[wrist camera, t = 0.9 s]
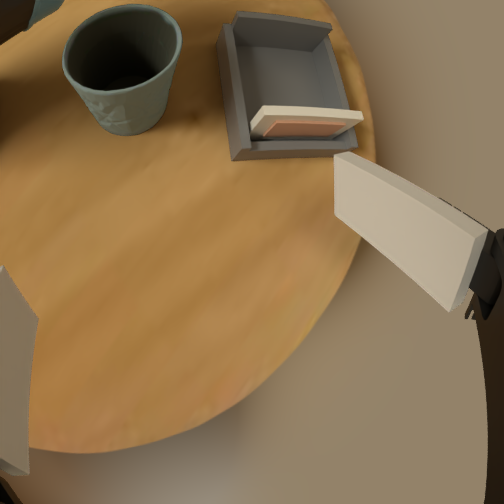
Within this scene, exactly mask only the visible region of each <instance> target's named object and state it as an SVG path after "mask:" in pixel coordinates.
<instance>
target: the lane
mask: <svg viewBox="0 0 504 504" xmlns="http://www.w3.org/2000/svg"><path fill="white" fill-rule="evenodd" d="M331 30H332V26H331V24H330V23H325V22H320V21H315V20H309V19H303V18H297V17H291V16H284V15H276V14H267V13H257V12H245V11H237V12H236V15H235V17H234V19H233V22H232V24H225V23H223V26H222V29H221V31H220V34H219V37H218V40H217V42H216V49H217V57H218V64H219V72H220V80H221V87H222V95H223V102H224V110H225V117H226V124H227V132H228V139H229V147H230V154H231V161H241V160H258V159H278V158H308V157H334V154H339V153H343V152H348V151H352V150H354V149H356V148H358V143H357V138H356V134H355V129H354V126H353V127H351V128H349V129H348V130H346V131H344V132H343V133H341V134H339V135H338V136H336V137H334V138H333V139H263V140H250V134H249V128H248V124H249V123H250V122H251V120H252V119H253V118H254V116H255V115H256V114H257V113H258V111H259V110H260V109H261V107H262V106H300V107H318V108H332V109H343V110H350V108H349V104H348V101H347V97H346V93H345V89H344V85H343V82H342V78H341V75H340V71H339V68H338V64H337V61H336V58H335V55H334V51H333V48H332V45H331V42H330V39H329V36H328V34H329V33H330V32H331Z"/></svg>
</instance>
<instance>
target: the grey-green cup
mask: <svg viewBox="0 0 504 504" xmlns="http://www.w3.org/2000/svg"><path fill="white" fill-rule="evenodd" d="M182 43H183V40H182V32H181V29H180V27H179V25H178V23H177V22H176V21H175V19H174V18H173V17H172V16H170V15H169V14H168V13H167V12H165V11H163V10H161V9H159V8H156V7H153V6H150V5H142V4H127V5H121V6H116V7H112V8H108V9H105V10H103V11H100V12H98V13H96V14H94V15H93V16H91V17H90V18H88V19H86V20H85V21H84V22H83V23H82V24H80V25H79V26H78V27H77V28H76V29H75V30H74V32H73V33H72V34H71V36H70V37H69V39H68V41H67V43H66V45H65V48H64V51H63V56H62V67H63V71H64V74H65V76H66V77H67V79H68V80H69V82H70V83H71V84H72V86H73V87H74V89H75V90H76V91H77V93H78V94H79V95H80V97H81V98H82V99H83V100H84V102H85V104H86V106H87V107H89V110H90V112H91V113H92V114H93V116H94V117H95V118H96V120H97V121H98V123H99V124H100V125H101V126H102V127H103V128H104V129H105V130H107V131H108V132H110V133H112V134H116V135H120V136H131V135H138V134H140V133H142V132H144V131H146V130H148V129H149V128H152V127H153V126H154V125H155V124H156V123H157V122H158V121H159V119H160V118H161V117H162V115H163V113H164V111H165V109H166V105H167V101H168V94H169V89H170V87H171V83H172V77H173V74H174V72H175V67H176V64H177V61H178V58H179V55H180V52H181V48H182Z"/></svg>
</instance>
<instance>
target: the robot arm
mask: <svg viewBox="0 0 504 504" xmlns="http://www.w3.org/2000/svg"><path fill="white" fill-rule="evenodd" d="M63 2H64V0H0V45H2V44H3V43H5V42H6V41H8V40H9V39H11V38H12V37H14V36H15V35H17V34H18V33H20V32H22V31H24V32H25V31H27V30H29V29H30V28H31V27H32V26H33V24H35V23H37V22H38V21H40V20H42V19H43V18H45V17H47V16H48V15H50V14H52V13H53V12H55V11H56V10H57V9H59V8H60V6H61V5H62V3H63ZM334 197H335V216H336V217H338V218H339V219H340V220H341V221H343V222H344V223H345V224H347V225H348V226H349V227H350V228H352V229H353V230H354V231H355V232H357V233H358V234H359V235H360V236H362V237H363V238H364V239H365V240H366V241H368V242H369V243H370V244H371V245H373V246H374V247H375V248H376V249H377V250H379V251H380V252H381V253H382V254H383V255H385V256H386V257H387V258H388V259H389V260H391V261H392V262H393V263H394V264H395V265H396V266H398V267H399V268H400V269H401V270H402V271H404V273H406V274H407V275H408V276H409V277H410V278H411V279H413V280H414V281H415V282H416V283H417V284H418V285H419V286H420V287H422V288H423V289H424V290H425V291H426V292H427V293H428V294H429V295H430V296H432V297H433V298H434V299H435V300H436V301H437V302H438V303H439V304H440V305H441V306H442V307H443V308H445V309H446V310H447V311H448V312H451V311H452V310H453V309H455V308H456V307H457V306H459V305H460V304H461V303H462V302H463V301H464V298H465V296H466V293H467V291H468V288H470V289H471V290H472V291H473V292H474V294H473V297H472V299H471V301H470V304H469V306H468V308H467V311H466V313H465V319H468V317H469V315H470V313H471V311H472V310H474V314H473V316H472V319H473V320H476V324H477V330H478V335H479V341H480V348H481V354H482V362H483V368H484V369H483V370H484V378H485V389H486V402H487V422H488V460H487V480H486V491H485V500H484V504H504V229H499V230H497V232H496V233H494V232H493V231H491V230H490V229H488V228H487V227H485V226H484V225H482V224H481V223H479V222H478V221H476V220H475V219H473V218H472V217H470V216H468V215H467V214H465V213H464V212H463V213H462V212H461V210H459V209H457V208H456V207H452V205H451V204H449V203H448V202H446V201H444V200H442V199H441V198H438V197H436V196H434V195H432V194H430V193H429V192H427V191H425V190H424V189H422V188H420V187H418V186H416V185H415V184H413V183H411V182H409V181H407V180H406V179H404V178H402V177H400V176H398V175H396V174H394V173H392V172H390V171H388V170H386V169H384V168H383V167H381V166H379V165H377V164H375V163H373V162H371V161H369V160H367V159H364V158H362V157H360V156H358V155H356V154H354V153H352V152H350V151H348V152H343V153H339V154H334ZM37 325H38V317H37V316H36V314H35V313H34V312H33V310H32V309H31V307H30V306H29V304H28V303H27V302H26V300H25V299H24V297H23V296H22V294H21V293H20V291H19V289H18V288H17V286H16V285H15V283H14V282H13V280H12V278H11V277H10V275H9V274H8V272H7V270H6V269H5V267H4V265H3V266H1V267H0V469H1V470H3V471H5V472H7V473H9V474H11V475H12V476H16V475H30V470H29V452H28V451H29V448H28V417H29V395H30V381H31V370H32V361H33V352H34V345H35V338H36V331H37ZM0 504H23V503H22V502H21V501H20V499H19V498H18V497H17V495H16V494H15V492H14V491H13V490H12V488H11V487H10V485H9V484H8V482H7V481H6V480H5V479H4V478H2V477H0Z"/></svg>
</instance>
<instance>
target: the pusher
mask: <svg viewBox="0 0 504 504" xmlns="http://www.w3.org/2000/svg"><path fill="white" fill-rule="evenodd" d="M363 120H364V119H363V115H362V111H353V110H343V109H332V108H318V107H300V106H262V107H261V109H260V110H259V111H258V113H257V114H256V115H255V116H254V118H253V119H252V120H251V122H250V123H249V124H248V128H249V134H250V140H263V139H333V138H334V137H336V136H338V135H339V134H341V133H343V132H344V131H346V130H348V129H349V128H351V127H353V126H354V125H356V124H358V123H359V122H361V121H363Z"/></svg>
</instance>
